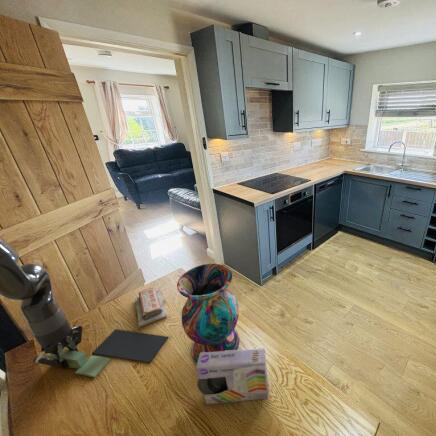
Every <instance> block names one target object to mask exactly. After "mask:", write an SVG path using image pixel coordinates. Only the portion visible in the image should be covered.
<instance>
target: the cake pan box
mask: <svg viewBox="0 0 436 436" xmlns="http://www.w3.org/2000/svg"><path fill="white" fill-rule="evenodd" d="M267 366H268V365H267V358H266V349H265V348H264V347H263V348H253V349H237V350H225V351H220V352H201V353H200V355H199V359H198V362H197V361H196V367H195V369H196V373H197V376H198V379H197V381H196V382H197V384H196V385H197V388H198V390H199V391H200V393H202V394H203V397H204V400H205V404H206V405H212V404H221V403H233V402H234V403H235V402H243V401H244V402H245V401H257V400H258V401H259V400H267V399H269V378H268V367H267Z"/></svg>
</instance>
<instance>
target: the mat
mask: <svg viewBox="0 0 436 436" xmlns="http://www.w3.org/2000/svg"><path fill="white" fill-rule="evenodd" d="M168 339H169V336H165V335H159V334H151V333H143V332H137V331H129V330H123V329H116V328H115V329H114V330H113V331H112V332H111V333H110V334H109V335H108V336H107V337H106V338H105V339H104V340H103V341H102V342H101V343H100V344H99V345H98V346H97V347H96V348H95V349H94V350H93V351H92V352H91V354H92V355H97V356H103V357H109V358H118V359H123V360H128V361H129V360H130V361H136V362H141V363H149V364H151V362H152V361H153V360H154V359H155V357H156V355H158V352H159V351H160V350H161V349H162V347H163V346H164V344H165V343H166V342H167V340H168Z"/></svg>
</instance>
